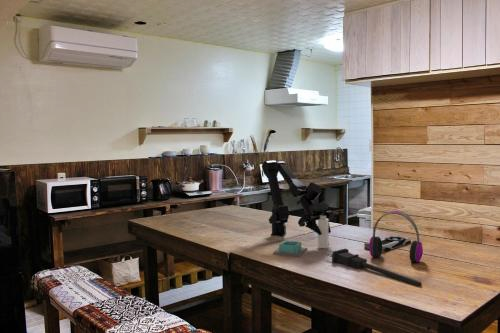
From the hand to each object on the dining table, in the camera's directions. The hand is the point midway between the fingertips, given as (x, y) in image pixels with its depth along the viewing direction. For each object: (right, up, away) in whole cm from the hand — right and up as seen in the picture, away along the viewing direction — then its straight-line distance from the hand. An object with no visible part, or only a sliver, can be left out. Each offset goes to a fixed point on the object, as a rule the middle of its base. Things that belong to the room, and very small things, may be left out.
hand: (325, 233), depth 193 cm
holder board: (-16, -7, -5) cm, 19 cm away
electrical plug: (+11, -10, -32) cm, 36 cm away
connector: (-1, -7, +2) cm, 7 cm away
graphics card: (+30, -7, +2) cm, 31 cm away
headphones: (+25, -8, -18) cm, 32 cm away
